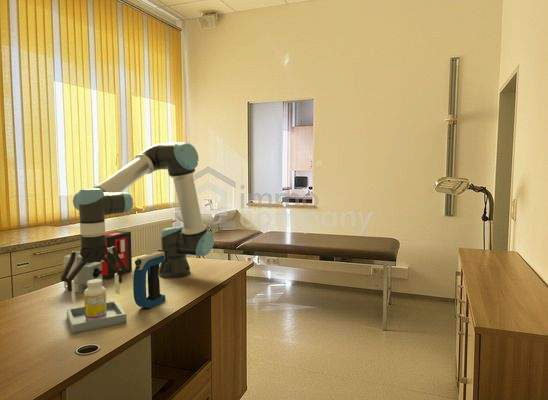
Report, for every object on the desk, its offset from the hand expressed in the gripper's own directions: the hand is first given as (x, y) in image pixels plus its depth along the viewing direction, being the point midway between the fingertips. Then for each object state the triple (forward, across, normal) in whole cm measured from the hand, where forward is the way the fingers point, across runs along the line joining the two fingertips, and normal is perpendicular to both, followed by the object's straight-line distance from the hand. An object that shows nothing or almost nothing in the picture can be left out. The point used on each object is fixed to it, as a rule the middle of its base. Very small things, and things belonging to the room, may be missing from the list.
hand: (96, 296), depth 127 cm
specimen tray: (+8, 0, 0) cm, 8 cm away
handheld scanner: (+9, -20, -4) cm, 22 cm away
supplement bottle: (+8, 0, 0) cm, 8 cm away
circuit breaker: (+9, -2, -38) cm, 39 cm away
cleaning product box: (+9, -16, -56) cm, 59 cm away
